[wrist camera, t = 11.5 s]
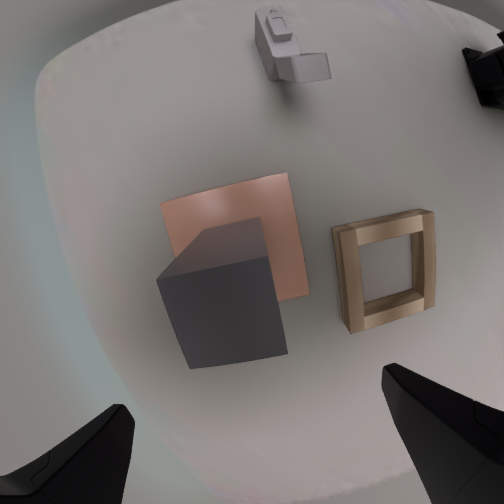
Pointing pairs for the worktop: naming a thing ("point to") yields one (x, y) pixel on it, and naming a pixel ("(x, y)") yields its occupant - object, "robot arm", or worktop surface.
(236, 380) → the worktop surface
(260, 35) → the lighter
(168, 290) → the dark grey block
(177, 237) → the tile
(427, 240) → the wooden square frame
